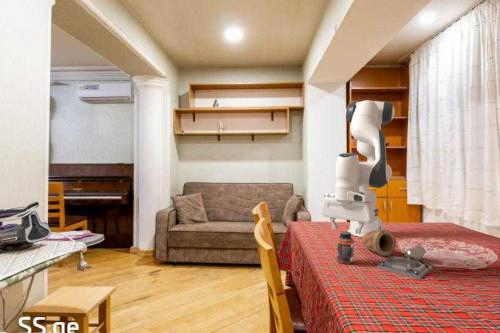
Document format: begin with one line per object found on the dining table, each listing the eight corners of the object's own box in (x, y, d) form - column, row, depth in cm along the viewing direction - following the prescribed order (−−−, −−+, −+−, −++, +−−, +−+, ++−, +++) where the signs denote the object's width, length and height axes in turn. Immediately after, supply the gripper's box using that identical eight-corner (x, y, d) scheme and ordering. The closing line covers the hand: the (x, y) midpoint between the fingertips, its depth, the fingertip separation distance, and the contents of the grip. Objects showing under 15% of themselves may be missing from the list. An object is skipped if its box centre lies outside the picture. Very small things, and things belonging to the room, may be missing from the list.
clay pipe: (356, 260, 124) (390, 258, 114) (349, 235, 126) (382, 231, 116) (375, 250, 137) (408, 247, 127) (368, 228, 139) (400, 223, 129)
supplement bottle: (356, 264, 109) (357, 234, 109) (342, 265, 108) (342, 234, 108) (348, 258, 115) (348, 230, 115) (334, 259, 114) (334, 231, 114)
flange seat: (400, 254, 122) (400, 242, 122) (439, 262, 112) (439, 249, 112) (377, 267, 106) (377, 254, 106) (420, 279, 96) (420, 264, 96)
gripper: (318, 193, 116) (318, 228, 116) (369, 197, 102) (369, 237, 101) (327, 192, 121) (326, 226, 120) (376, 196, 106) (376, 234, 106)
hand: (346, 231), depth 111 cm, fingers open, 8 cm apart
